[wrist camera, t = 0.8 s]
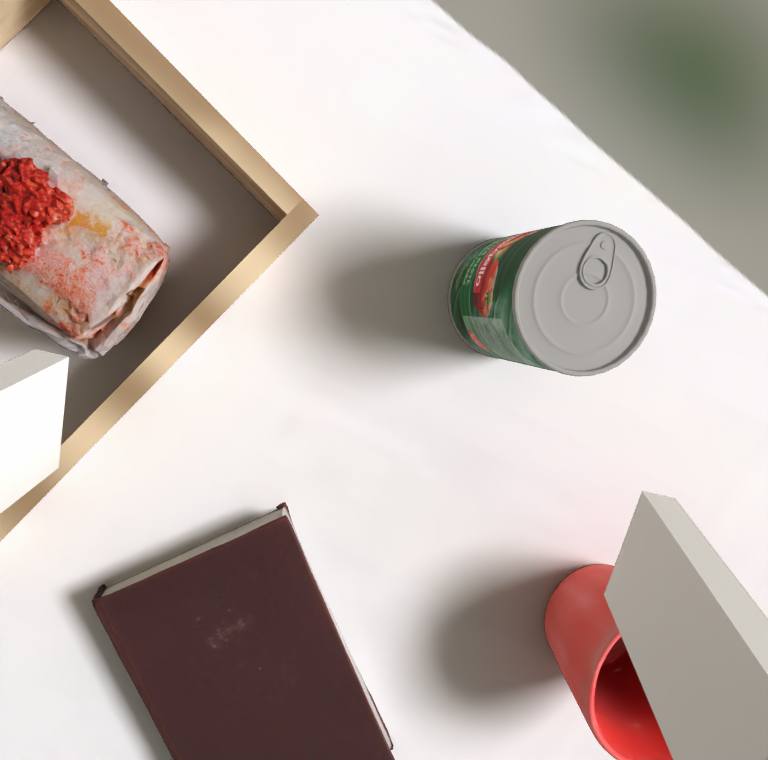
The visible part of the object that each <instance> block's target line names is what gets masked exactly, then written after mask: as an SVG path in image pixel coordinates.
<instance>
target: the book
mask: <svg viewBox="0 0 768 760" xmlns="http://www.w3.org/2000/svg"><path fill="white" fill-rule="evenodd" d="M276 508H277V510H275V511H273V512H271V513H269V514H267V515H265V516H263V517H260V518H258V519H256V520H254V521H252V522H249V523H247V524H245V525H243V526H241V527H239V528H237V529H234V530H232V531H230V532H228V533H226V534H224V535H221V536H219V537H217V538H215V539H213V540H211V541H209V542H207V543H204V544H202V545H200V546H198V547H196V548H193V549H191V550H189V551H187V552H185V553H183V554H180V555H178V556H176V557H174V558H172V559H169V560H167V561H165V562H163V563H161V564H159V565H156V566H154V567H152V568H150V569H148V570H146V571H143V572H141V573H139V574H137V575H135V576H133V577H130V578H128V579H126V580H124V581H122V582H120V583H117V584H115V585H113V586H111V587H106V586H105V584H103V585H102V586H101V587H99V589H98V591H97V593H96V594H95V596H94V598H93V600H92V603H93V606H94V609H95V611H96V613H97V615H98V617H99V618H100V620H101V622H102V624H103V626H104V628H105V630H106V632H107V633H108V635H109V637H110V639H111V641H112V643H113V645H114V647H115V649H116V651H117V653H118V655H119V657H120V659H121V661H122V662H123V664H124V666H125V668H126V670H127V671H128V673H129V675H130V677H131V679H132V681H133V683H134V684H135V686H136V688H137V690H138V692H139V694H140V696H141V698H142V700H143V701H144V703H145V705H146V707H147V709H148V711H149V713H150V715H151V717H152V719H153V721H154V723H155V725H156V727H157V728H158V730H159V732H160V734H161V736H162V738H163V740H164V742H165V744H166V746H167V748H168V750H169V752H170V754H171V755H172V757H173V759H174V760H395V759H394V757H393V755H392V753H391V751H390V750H393V744H392V741H391V738H390V736H389V733H388V730H387V728H386V726H385V724H384V722H383V720H382V718H381V716H380V714H379V712H378V710H377V707H376V705H375V703H374V701H373V698H372V696H371V694H370V693H369V691H368V689H367V687H366V685H365V683H364V681H363V678H362V676H361V674H360V672H359V670H358V668H357V666H356V664H355V662H354V660H353V658H352V656H351V654H350V651H349V649H348V647H347V645H346V643H345V640H344V638H343V636H342V634H341V632H340V630H339V628H338V625H337V623H336V621H335V619H334V617H333V614H332V612H331V610H330V608H329V606H328V604H327V602H326V600H325V597H324V595H323V593H322V591H321V588H320V586H319V584H318V582H317V579H316V577H315V575H314V573H313V571H312V568H311V566H310V564H309V562H308V559H307V557H306V555H305V552H304V550H303V548H302V546H301V543H300V541H299V539H298V536H297V533H296V531H295V528H294V526H293V523H292V520H291V517H290V514H289V510H288V507H287V505H286V503H282V504H280V505H278V506H277V507H276Z"/></svg>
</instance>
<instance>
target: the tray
mask: <svg viewBox="0 0 768 760" xmlns="http://www.w3.org/2000/svg"><path fill="white" fill-rule="evenodd" d="M51 1H52V0H0V50H1V49H2V48H3V47H4V46H5V45H6V44H7V43H8V42H9V41H10V40H11V39H12V38H13V37H14V36H15V35H16V34H18V33H19V32H20V31H21V30H22V29H23V28H24V27H25V26H26V25H27V24H28V23H29V22H30V21H31V20H32V19H33V18H34V17H35V16H36V15H37V14H38V13H39V12H40V11H41V10H42V9H43V8H44V7H45V6H46V5H48V4H49V3H50V2H51ZM59 1H60V2H61V3H62V4H63V5H64V6H65V7H66V8H67V9H68V10H69V11H70V12H71V13H72V14H73V15H74V16H75V17H76V18H77V19H78V20H79V21H80V22H81V23H82V24H83V25H84V26H85V27H86V28H87V29H88V30H89V31H90V32H91V33H92V34H93V35H94V36H95V37H96V38H97V39H98V40H99V41H100V42H101V43H102V44H103V45H104V46H105V47H106V48H107V49H108V50H109V51H110V52H111V53H112V54H113V55H114V56H115V57H116V58H117V59H118V60H119V61H120V62H121V63H122V64H123V65H124V66H125V67H126V68H127V69H128V70H129V71H130V72H131V73H132V74H133V75H134V76H135V77H136V78H137V79H138V80H139V81H140V82H141V83H142V84H143V85H144V86H145V87H146V88H147V89H148V90H149V91H150V92H151V93H152V94H153V95H154V96H155V97H156V98H157V99H158V100H159V102H160V103H161V104H162V105H163V106H164V107H165V108H166V109H167V110H168V111H169V112H170V113H171V114H172V115H173V116H174V117H175V118H176V119H177V120H178V121H179V122H180V123H181V124H182V125H183V126H184V127H185V128H186V129H187V130H188V131H189V132H190V133H191V134H192V135H193V136H194V137H195V138H196V139H197V140H198V141H199V142H200V143H201V144H202V145H203V146H204V147H205V148H206V149H207V150H208V151H209V152H210V153H211V154H212V155H213V156H214V157H215V158H216V159H217V160H218V161H219V162H220V163H221V164H222V165H223V166H224V167H225V168H226V169H227V170H228V171H229V172H230V173H231V174H232V175H233V176H234V177H235V178H236V179H237V180H238V181H239V182H240V183H241V184H242V185H243V186H244V187H245V188H246V189H247V190H248V191H249V192H250V193H251V194H252V195H253V196H254V197H255V198H256V199H257V200H258V201H259V202H260V203H261V204H262V205H263V206H264V207H265V208H266V209H267V210H268V211H269V212H270V213H271V214H272V215H273V216H274V217H275V218H276V219H277V220H278V221H279V222H280V223H279V224H278V225H277V226H276V227H275V228H274V229H273V230H272V231H271V232H270V233H269V234H268V235H267V236H266V237H265V238H264V239H263V240H262V241H261V242H260V243H259V244H258V245H257V246H256V247H255V248H254V249H253V250H252V251H251V252H250V253H249V254H248V255H247V256H246V257H245V258H244V259H243V260H242V261H241V262H240V263H239V264H238V265H237V266H236V267H235V269H234V270H233V271H232V272H231V273H230V274H229V275H228V276H227V277H226V278H225V279H224V280H223V281H222V282H221V283H220V284H219V285H218V286H217V287H216V288H215V289H214V290H213V291H212V292H211V293H210V294H209V295H208V296H207V297H206V298H205V299H204V300H203V301H202V302H201V303H200V304H199V305H198V306H197V307H196V308H195V309H194V310H193V311H192V312H191V313H190V314H189V315H188V316H187V317H186V319H185V320H184V321H183V322H182V323H181V324H180V325H179V326H178V327H177V328H176V329H175V330H174V331H173V332H172V333H171V334H170V335H169V336H168V337H167V338H166V339H165V340H164V341H163V342H162V343H161V344H160V345H159V346H158V347H157V348H156V349H155V350H154V351H153V352H152V353H151V354H150V355H149V356H148V357H147V358H146V359H145V360H144V361H143V362H142V363H141V364H140V365H139V366H138V367H137V369H136V370H135V371H134V372H133V373H132V374H131V375H130V376H129V377H128V378H127V379H126V380H125V381H124V382H123V383H122V384H121V385H120V386H119V387H118V388H117V389H116V390H115V391H114V392H113V393H112V394H111V395H110V396H109V397H108V398H107V399H106V400H105V401H104V402H103V403H102V404H101V405H100V406H99V407H98V408H97V409H96V410H95V411H94V412H93V413H92V414H91V415H90V416H89V417H88V419H87V420H86V421H85V422H84V423H83V424H82V425H81V426H80V427H79V428H78V429H77V430H76V431H75V432H74V433H73V434H72V435H71V436H70V437H69V438H68V439H67V440H66V441H65V442H64V443H63V444H62V445H61V448H60V458H59V468H58V469H56V470H55V471H54V472H53V473H51V474H50V475H49V476H48V477H46V478H45V479H44V480H42V481H41V482H40V483H39V484H37V485H36V486H35V487H34V488H32V489H31V490H30V491H28V492H27V493H26V494H25V495H23V496H22V497H21V498H20V499H18V500H17V501H16V502H14V503H13V504H12V505H11V506H9V507H8V508H7V509H6V510H4V511H3V512H2V513H1V514H0V541H1V540H2V539H3V538H4V537H5V536H6V535H7V534H8V533H9V532H10V531H11V530H12V529H13V528H14V527H15V526H16V525H17V524H18V523H19V522H20V521H21V520H22V519H23V518H24V517H25V516H26V515H27V514H28V513H29V512H30V511H31V510H32V508H33V507H34V506H35V505H36V504H37V503H38V502H39V501H40V500H41V499H42V498H43V497H44V496H45V495H46V494H47V493H48V492H49V491H50V490H51V489H52V488H53V487H54V486H55V485H56V484H57V483H58V482H59V481H60V480H61V479H62V478H63V477H64V476H65V475H66V474H67V473H68V472H69V471H70V470H71V469H72V468H73V466H74V465H75V464H76V463H77V462H78V461H79V460H80V459H81V458H82V457H83V456H84V455H85V454H86V453H87V452H88V451H89V450H90V449H91V448H92V447H93V446H94V445H95V444H96V443H97V442H98V441H99V440H100V439H101V438H102V437H103V436H104V435H105V434H106V433H107V432H108V431H109V430H110V429H111V428H112V427H113V426H114V425H115V423H116V422H117V421H118V420H119V419H120V418H121V417H122V416H123V415H124V414H125V413H126V412H127V411H128V410H129V409H130V408H131V407H132V406H133V405H134V404H135V403H136V402H137V401H138V400H139V399H140V398H141V397H142V396H143V395H144V394H145V393H146V392H147V391H148V390H149V389H150V388H151V387H152V386H153V385H154V384H155V383H156V381H157V380H158V379H159V378H160V377H161V376H162V375H163V374H164V373H165V372H166V371H167V370H168V369H169V368H170V367H171V366H172V365H173V364H174V363H175V362H176V361H177V360H178V359H179V358H180V357H181V356H182V355H183V354H184V353H185V352H186V351H187V350H188V349H189V348H190V347H191V346H192V345H193V344H194V343H195V342H196V341H197V339H198V338H199V337H200V336H201V335H202V334H203V333H204V332H205V331H206V330H207V329H208V328H209V327H210V326H211V325H212V324H213V323H214V322H215V321H216V320H217V319H218V318H219V317H220V316H221V315H222V314H223V313H224V312H225V311H226V310H227V309H228V308H229V307H230V306H231V305H232V304H233V303H234V302H235V301H236V300H237V299H238V297H239V296H240V295H241V294H242V293H243V292H244V291H245V290H246V289H247V288H248V287H249V286H250V285H251V284H252V283H253V282H254V281H255V280H256V279H257V278H258V277H259V276H260V275H261V274H262V273H263V272H264V271H265V270H266V269H267V268H268V267H269V266H270V265H271V264H272V263H273V262H274V261H275V260H276V259H277V258H278V257H279V255H280V254H281V253H282V252H283V251H284V250H285V249H286V248H287V247H288V246H289V245H290V244H291V243H292V242H293V241H294V240H295V239H296V238H297V237H298V236H299V235H300V234H301V233H302V232H303V231H304V230H305V229H306V228H307V227H308V226H309V225H310V224H311V223H312V222H313V221H314V220H315V219H316V218H317V217H318V216H319V215H318V214H317V213H316V212H315V211H314V210H313V209H312V208H311V207H310V205H309V204H308V203H307V202H306V201H305V200H304V199H303V198H302V197H301V196H300V195H299V194H298V193H297V192H296V191H295V190H294V189H293V188H292V187H291V186H290V185H289V184H288V183H287V182H286V181H285V180H284V179H283V178H282V177H281V176H280V175H279V174H278V173H277V172H276V171H275V170H274V169H273V168H272V167H271V166H270V164H269V163H268V162H267V161H266V160H265V159H264V158H263V157H262V156H261V155H260V154H259V153H258V152H257V151H256V150H255V149H254V148H253V147H252V146H251V145H250V144H249V143H248V142H247V141H246V140H245V139H244V138H243V137H242V136H241V135H240V134H239V133H238V132H237V131H236V130H235V129H234V128H233V127H232V126H231V125H230V123H229V122H228V121H227V120H226V119H225V118H224V117H223V116H222V115H221V114H220V113H219V112H218V111H217V110H216V109H215V108H214V107H213V106H212V105H211V104H210V103H209V102H208V101H207V100H206V99H205V98H204V97H203V96H202V95H201V94H200V93H199V92H198V91H197V90H196V89H195V88H194V87H193V86H192V85H191V84H190V83H189V81H188V80H187V79H186V78H185V77H184V76H183V75H182V74H181V73H180V72H179V71H178V70H177V69H176V68H175V67H174V66H173V65H172V64H171V63H170V62H169V61H168V60H167V59H166V58H165V57H164V56H163V55H162V54H161V53H160V52H159V51H158V50H157V49H156V48H155V47H154V46H153V45H152V44H151V43H150V42H149V40H148V39H147V38H146V37H145V36H144V35H143V34H142V33H141V32H140V31H139V30H138V29H137V28H136V27H135V26H134V25H133V24H132V23H131V22H130V21H129V20H128V19H127V18H126V17H125V16H124V15H123V14H122V13H121V12H120V11H119V10H118V9H117V8H116V7H115V6H114V5H113V4H112V3H111V2H110V1H109V0H59Z"/></svg>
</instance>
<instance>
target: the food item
mask: <svg viewBox="0 0 768 760" xmlns="http://www.w3.org/2000/svg"><path fill="white" fill-rule="evenodd" d="M34 123H35V122H29V121H28V120H27V119H26V118H24V117H23V116H22V115H21V114H19V113H18V112H17V111H15V110H14V109H13V108H12V107H10V106H9V105H8V104H7V103H5V102H4V101H3V97H0V304H1V305H2V306H3V307H5V308H6V309H7V310H8V311H10V312H11V313H12V314H14V315H15V316H17V317H18V318H19V319H20V320H22V321H23V322H24V323H26V324H28V326H29V327H31V328H34V329H36V330H38V331H40V332H42V333H43V334H45V335H46V336H48V337H49V338H51V339H52V340H54V341H55V342H56V343H57V344H58V345H59V346H61V347H64V348H66V349H69V350H72V351H75V352H76V354H77V356H79V357H81V358H85V359H96V358H97V357H98V356H104V354H105V353H106V352H108V351H109V350H110V349H111V348H112V347H113V346H114V345H117V344H118V343H119V342H120V341H121V340H123V339H124V338H125V337H126V336H127V334H128V333H129V332H130V331H131V329H132V328H133V327H134V326H135V325H136V323H137V322H138V321H139V320H140V318H141V316H142V315H143V313H144V311H145V310H146V308H147V307H148V305H149V304H150V302H151V301H152V299H153V298H154V296H155V295H156V293H157V292H158V290H159V288H160V286H161V285H162V283H163V281H164V278H165V276H166V273H167V270H168V266H169V261H170V260H169V257H168V252H167V251H168V249H169V248H170V247H169V246H168V245H166V243H163V242H162V241H161V239H160V238H159V236H158V235H157V234H156V233H155V232H154V231H153V230H152V229H151V228H150V227H149V226H148V225H147V224H146V223H145V222H144V221H143V220H142V219H141V218H140V217H139V215H138V214H136V213H135V212H134V211H133V210H132V209H131V208H130V207H129V206H128V205H127V204H126V203H125V202H124V201H122V200H121V199H120V198H119V197H118V196H117V195H116V194H115V193H114V192H112V191H111V190H110V189H109V188H108V187H107V185H108V183H107V182H106V181H105V180H104V179H102V181H100V180H99V179H98V178H97V177H96V176H95V175H93V174H92V173H91V172H90V171H88V170H87V169H86V168H84V167H83V166H82V165H80V164H79V163H78V162H76V161H74V160H73V159H72V158H71V157H70V156H69V155H68V154H66V153H65V152H64V151H63V150H61V149H60V148H59V147H58V146H57V145H56V144H55V143H53V142H52V141H51V140H49V139H48V138H46V136H44V135H43V134H42V133H41V132H40V131H39V130H38V129H37V128H36V127H35V126H34V125H33V124H34Z"/></svg>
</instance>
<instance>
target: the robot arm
mask: <svg viewBox="0 0 768 760" xmlns="http://www.w3.org/2000/svg"><path fill="white" fill-rule="evenodd" d="M68 363H69V357H68V356H64V355H59V354H55V353H51V352H46V351H42V350H38V349H34V350H32V351H30V352H27V353H25V354H23V355H21V356H18V357H16V358H14V359H11V360H9V361H7V362H5V363H2V364H0V514H1V513H2V512H3V511H4V510H6V509H7V508H8V507H9V506H11V505H12V504H13V503H14V502H16V501H17V500H18V499H20V498H21V497H22V496H23V495H25V494H26V493H27V492H28V491H30V490H31V489H32V488H34V487H35V486H36V485H37V484H39V483H40V482H41V481H42V480H44V479H45V478H46V477H48V476H49V475H50V474H51V473H53V472H54V471H55V470H56V469H58V468H59V458H60V448H61V437H62V427H63V416H64V405H65V395H66V384H67V374H68ZM604 596H605V599H606V601H607V603H608V606H609V608H610V611H611V613H612V615H613V618H614V620H615V622H616V625H617V627H618V630H619V632H620V634H621V637H622V639H623V641H624V644H625V646H626V649H627V651H628V653H629V656H630V658H631V661H632V663H633V665H634V668H635V670H636V672H637V675H638V677H639V680H640V682H641V684H642V687H643V689H644V691H645V694H646V696H647V699H648V701H649V703H650V706H651V708H652V711H653V713H654V715H655V718H656V720H657V722H658V725H659V727H660V730H661V732H662V734H663V737H664V739H665V741H666V744H667V746H668V749H669V751H670V753H671V756H672V758H673V760H768V618H767V617H766V616H765V614H764V613H763V612H762V610H761V609H760V608H759V607H758V605H757V604H756V603H755V601H754V600H753V599H752V597H751V596H750V595H749V594H748V592H747V591H746V590H745V588H744V587H743V586H742V584H741V583H740V582H739V581H738V579H737V578H736V577H735V575H734V574H733V573H732V571H731V570H730V569H729V567H728V566H727V565H726V564H725V562H724V561H723V560H722V558H721V557H720V556H719V554H718V553H717V552H716V551H715V549H714V548H713V547H712V545H711V544H710V543H709V541H708V540H707V539H706V538H705V536H704V535H703V534H702V532H701V531H700V530H699V528H698V527H697V526H696V525H695V523H694V522H693V521H692V519H691V518H690V517H689V515H688V514H687V513H686V512H685V510H684V509H683V508H682V506H681V505H680V504H679V502H678V501H677V500H676V499H675V498H671V497H667V496H662V495H658V494H654V493H650V492H645V491H642V493H641V496H640V498H639V501H638V504H637V506H636V509H635V512H634V515H633V517H632V520H631V523H630V525H629V528H628V531H627V534H626V536H625V539H624V542H623V544H622V547H621V550H620V553H619V555H618V558H617V561H616V563H615V566H614V569H613V572H612V574H611V577H610V580H609V582H608V585H607V588H606V591H605V593H604Z"/></svg>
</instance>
